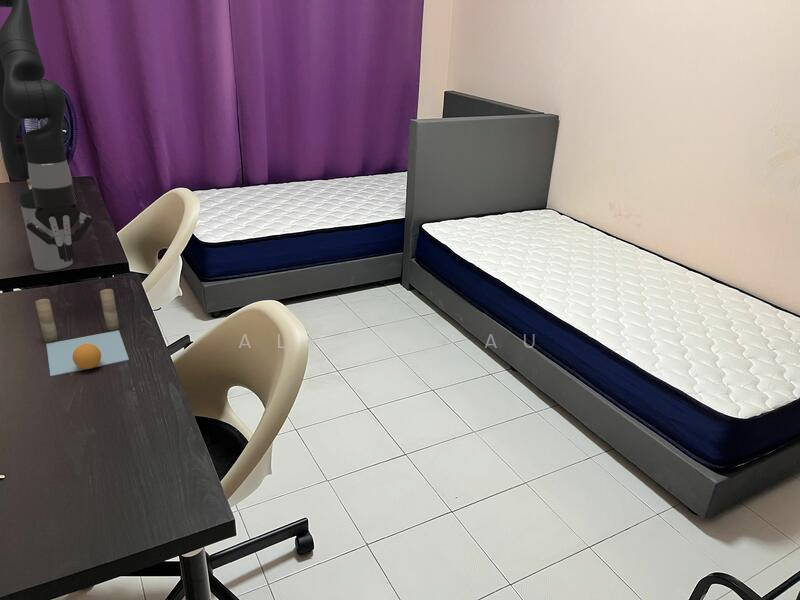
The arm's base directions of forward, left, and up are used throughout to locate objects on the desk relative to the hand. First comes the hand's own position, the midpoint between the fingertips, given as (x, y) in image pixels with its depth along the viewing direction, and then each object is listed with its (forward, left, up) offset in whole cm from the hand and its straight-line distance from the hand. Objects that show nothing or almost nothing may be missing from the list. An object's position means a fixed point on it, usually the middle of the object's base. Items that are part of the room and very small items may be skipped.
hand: (67, 260), depth 131 cm
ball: (+25, 0, -12) cm, 27 cm away
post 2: (+9, +6, -14) cm, 18 cm away
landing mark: (+18, 0, -14) cm, 23 cm away
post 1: (+9, -6, -14) cm, 18 cm away
